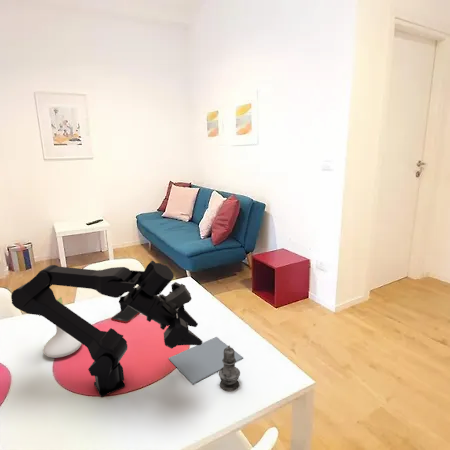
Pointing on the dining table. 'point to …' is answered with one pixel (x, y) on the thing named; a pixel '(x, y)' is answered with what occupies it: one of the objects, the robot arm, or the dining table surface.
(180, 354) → the mat
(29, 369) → the dining table surface
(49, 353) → the flower in vase
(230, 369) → the dark grey chess piece
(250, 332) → the dining table surface
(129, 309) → the cell phone
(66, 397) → the dining table surface
